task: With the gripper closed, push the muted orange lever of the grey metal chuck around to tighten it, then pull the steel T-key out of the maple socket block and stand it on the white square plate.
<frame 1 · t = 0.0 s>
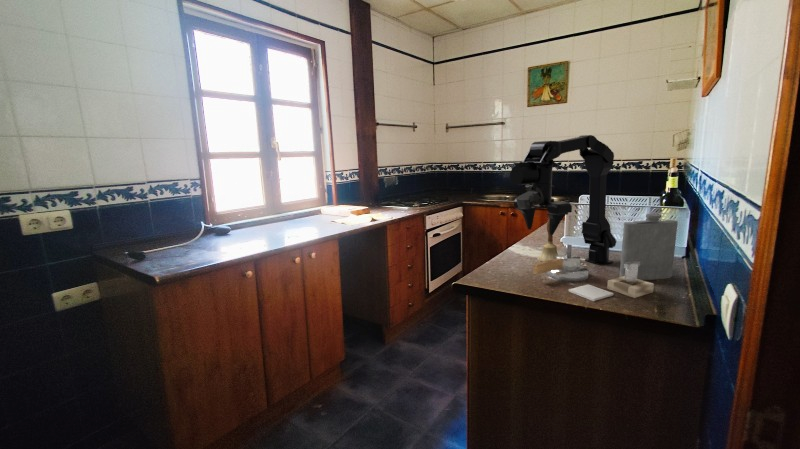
hand: (540, 231, 116), 15 cm above the countertop, fingers open, 9 cm apart
white square plate: (590, 293, 103), on the countertop
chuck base: (567, 274, 119), on the countertop
chuck: (556, 259, 115), point 6 cm above the countertop, hinge at 0.0°
hip flask: (646, 278, 113), on the countertop
key socket: (629, 290, 104), on the countertop
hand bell: (549, 260, 135), on the countertop
shiny silver metal piece: (630, 276, 103), in the key socket
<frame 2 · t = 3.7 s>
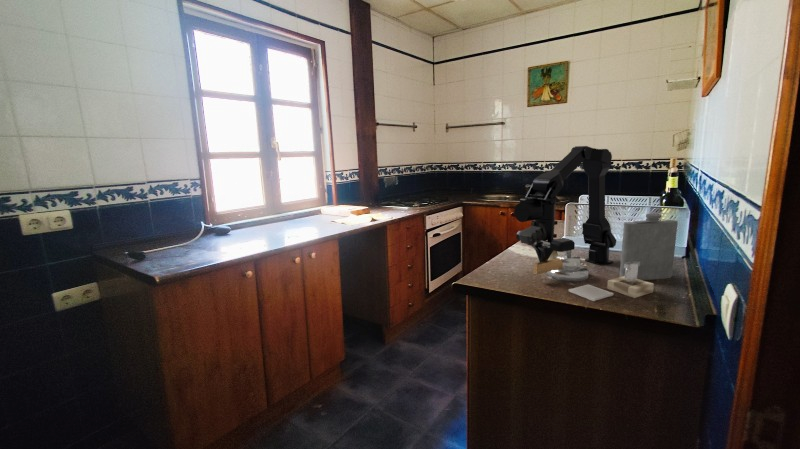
hand: (542, 266, 116), 4 cm above the countertop, fingers closed
chuck: (556, 259, 115), point 6 cm above the countertop, hinge at 0.2°, touching gripper
everything else where it was.
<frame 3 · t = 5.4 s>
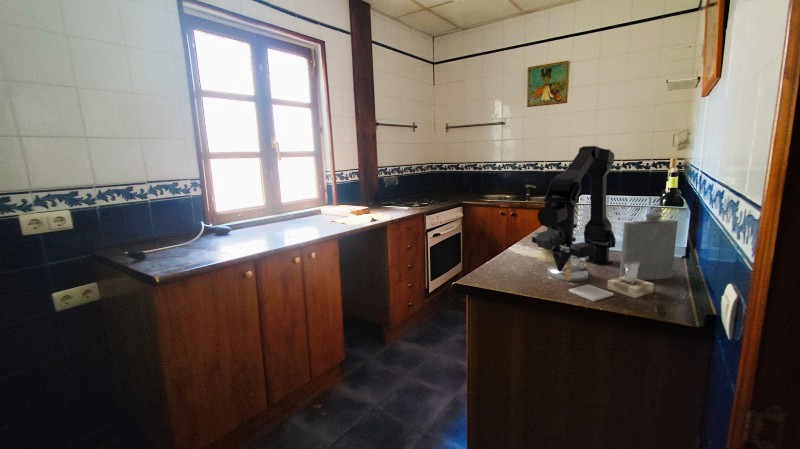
hand: (559, 271, 110), 4 cm above the countertop, fingers closed
chuck: (568, 261, 113), point 6 cm above the countertop, hinge at 40.8°, touching gripper
everything else where it was.
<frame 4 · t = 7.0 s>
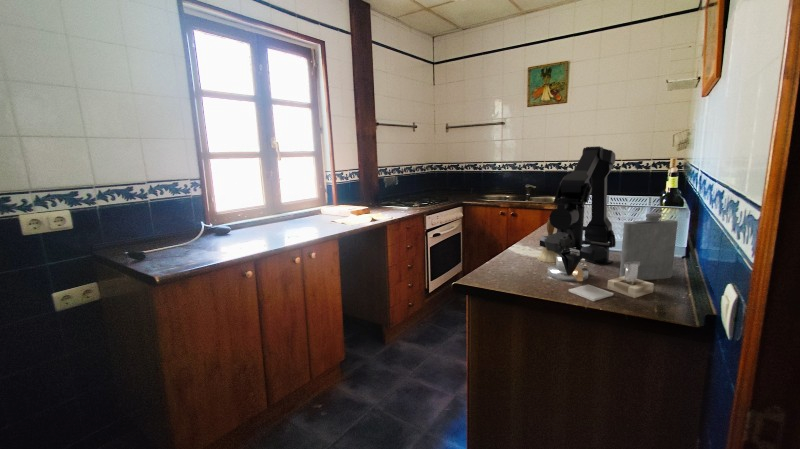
hand: (569, 275, 107), 4 cm above the countertop, fingers closed
chuck: (572, 261, 112), point 6 cm above the countertop, hinge at 54.1°, touching gripper
everything else where it was.
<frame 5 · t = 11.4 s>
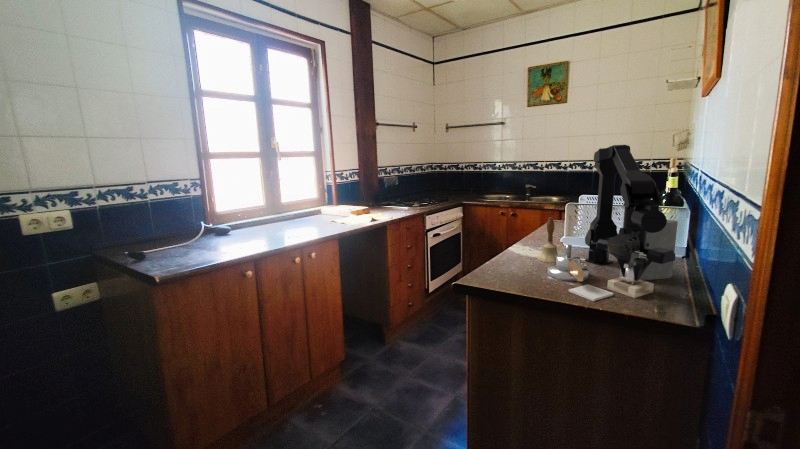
hand: (630, 278, 103), 4 cm above the countertop, fingers closed on shiny silver metal piece, 3 cm apart
chuck: (572, 261, 112), point 6 cm above the countertop, hinge at 54.4°
shiny silver metal piece: (630, 276, 103), in the key socket, touching gripper
everything else where it was.
when the fingers open (5 cm above the countertop, at t = 14.8 s): shiny silver metal piece drops 1 cm, resting on white square plate.
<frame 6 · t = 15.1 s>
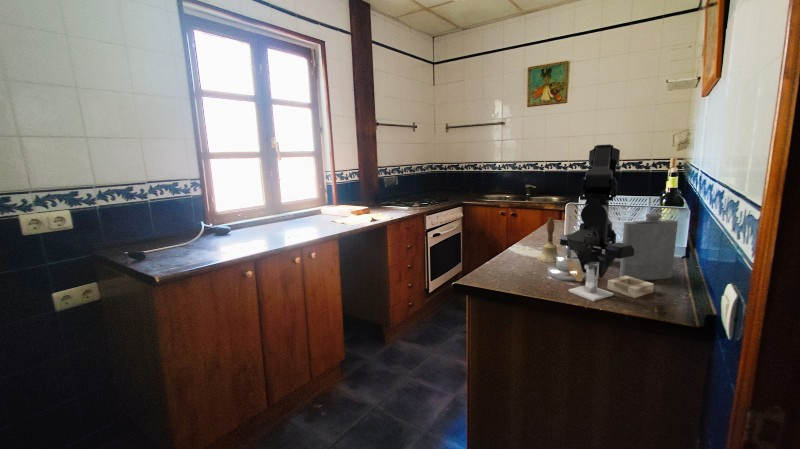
hand: (592, 275, 102), 6 cm above the countertop, fingers open, 5 cm apart
chuck: (572, 261, 112), point 6 cm above the countertop, hinge at 53.3°, touching gripper
shiny silver metal piece: (591, 277, 102), on the white square plate, point 5 cm above the countertop
everything else where it was.
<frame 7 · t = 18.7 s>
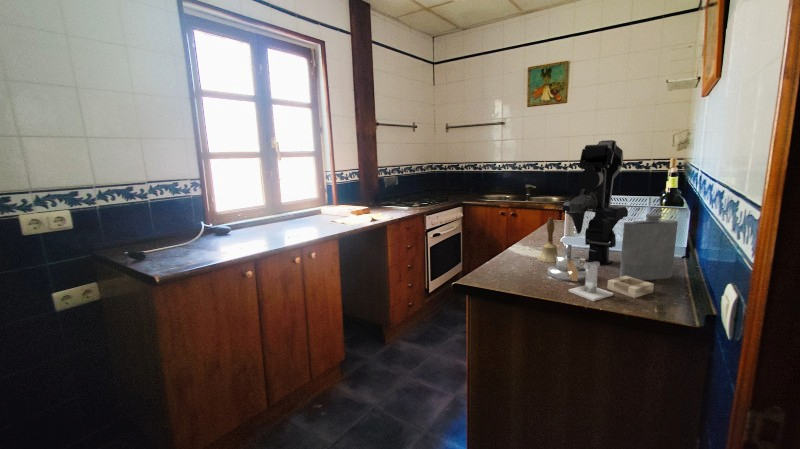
hand: (591, 236, 114), 13 cm above the countertop, fingers open, 9 cm apart
chuck: (570, 261, 112), point 6 cm above the countertop, hinge at 48.2°
everything else where it was.
at the end: chuck at +48° (first picture: +0°); shiny silver metal piece 0.0 cm off-centre on the white square plate, point 4.7 cm above the white square plate's base; shiny silver metal piece tilted 1° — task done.
